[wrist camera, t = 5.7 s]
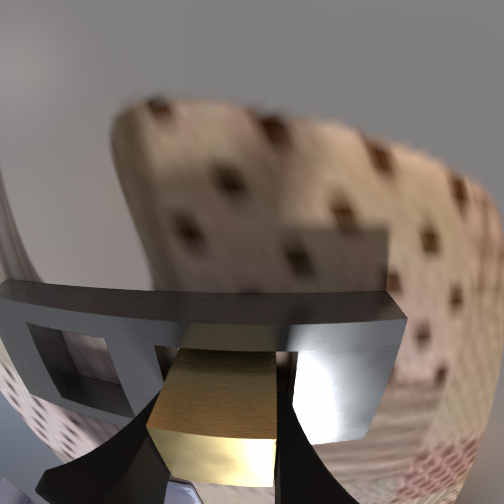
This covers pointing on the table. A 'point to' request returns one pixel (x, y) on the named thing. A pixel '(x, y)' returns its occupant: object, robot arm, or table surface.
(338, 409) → the rail
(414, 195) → the table surface
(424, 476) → the table surface
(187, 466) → the block
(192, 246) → the table surface
